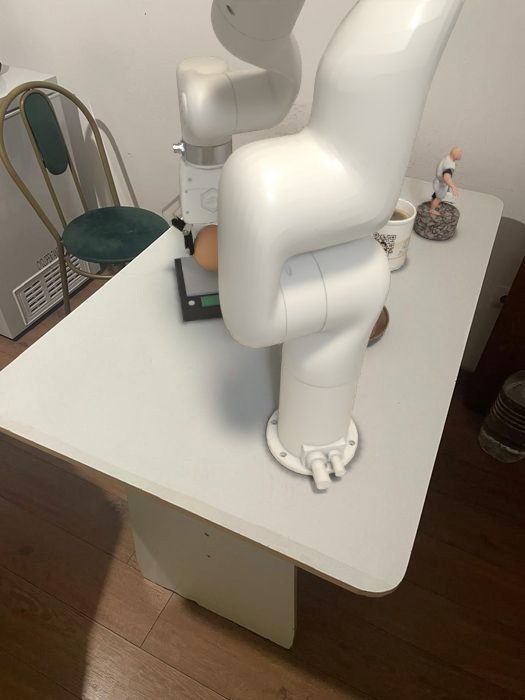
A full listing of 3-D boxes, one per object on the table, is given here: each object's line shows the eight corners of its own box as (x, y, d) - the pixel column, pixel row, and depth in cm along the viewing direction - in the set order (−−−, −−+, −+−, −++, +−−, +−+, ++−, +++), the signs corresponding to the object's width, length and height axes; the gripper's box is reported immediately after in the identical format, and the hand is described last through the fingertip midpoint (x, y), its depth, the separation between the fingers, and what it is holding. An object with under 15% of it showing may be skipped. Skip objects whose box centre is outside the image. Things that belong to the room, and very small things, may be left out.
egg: (208, 284, 90) (205, 242, 84) (187, 265, 94) (182, 223, 88) (242, 270, 93) (242, 229, 87) (220, 252, 98) (218, 211, 92)
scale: (262, 312, 91) (263, 298, 89) (183, 322, 89) (181, 308, 87) (246, 261, 102) (245, 248, 100) (175, 269, 100) (173, 255, 98)
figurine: (454, 250, 106) (481, 166, 94) (412, 244, 108) (433, 160, 95) (453, 216, 117) (477, 136, 104) (414, 210, 118) (433, 131, 106)
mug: (381, 279, 99) (392, 228, 91) (335, 253, 105) (341, 203, 97) (414, 259, 104) (427, 209, 96) (368, 235, 110) (377, 186, 102)
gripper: (151, 164, 75) (165, 265, 87) (268, 155, 77) (266, 255, 90) (149, 143, 80) (162, 242, 92) (258, 136, 83) (257, 232, 95)
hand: (213, 247), depth 91 cm, fingers closed on egg, 7 cm apart
